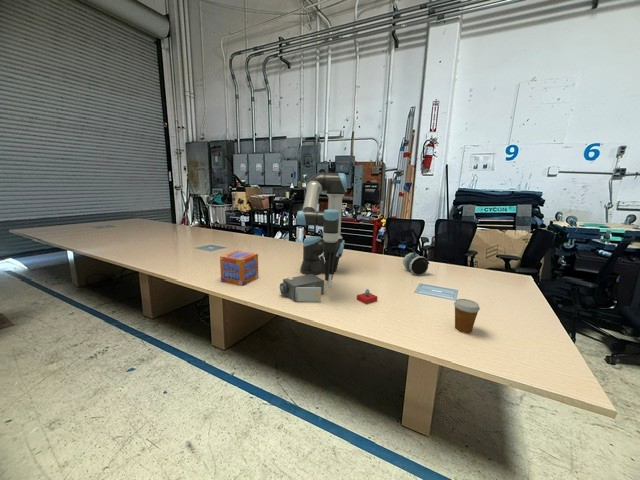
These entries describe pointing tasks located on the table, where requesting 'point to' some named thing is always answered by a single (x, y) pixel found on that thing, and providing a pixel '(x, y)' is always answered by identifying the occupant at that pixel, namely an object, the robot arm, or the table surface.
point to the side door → (307, 293)
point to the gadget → (415, 263)
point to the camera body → (300, 284)
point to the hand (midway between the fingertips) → (328, 286)
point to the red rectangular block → (367, 297)
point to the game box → (239, 267)
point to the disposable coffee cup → (465, 314)
